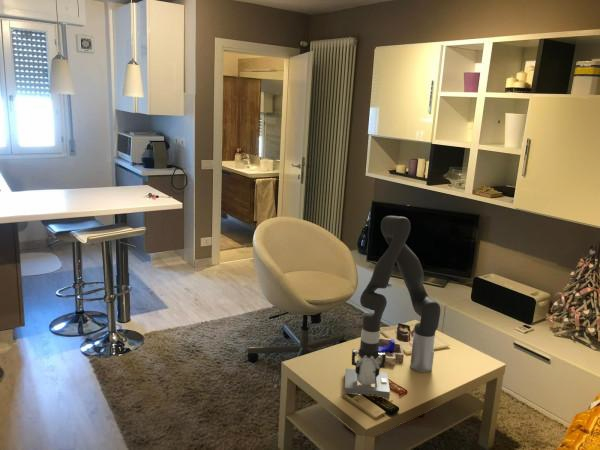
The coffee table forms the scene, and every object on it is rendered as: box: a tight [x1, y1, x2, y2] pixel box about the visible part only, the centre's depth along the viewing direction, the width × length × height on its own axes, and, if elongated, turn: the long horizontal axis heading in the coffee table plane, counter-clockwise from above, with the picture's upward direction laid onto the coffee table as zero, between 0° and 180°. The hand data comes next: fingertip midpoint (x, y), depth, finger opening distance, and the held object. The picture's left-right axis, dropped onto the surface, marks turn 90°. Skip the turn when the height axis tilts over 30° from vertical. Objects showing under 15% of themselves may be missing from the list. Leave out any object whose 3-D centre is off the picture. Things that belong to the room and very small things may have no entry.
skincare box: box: [358, 356, 377, 386], centre depth 207 cm, size 6×4×12 cm
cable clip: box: [378, 338, 396, 355], centre depth 238 cm, size 12×4×6 cm, turn 84°
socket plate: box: [344, 368, 391, 399], centre depth 209 cm, size 18×15×4 cm
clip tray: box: [377, 337, 405, 366], centre depth 236 cm, size 19×19×4 cm
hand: (366, 374), depth 208 cm, fingers closed on skincare box, 7 cm apart
